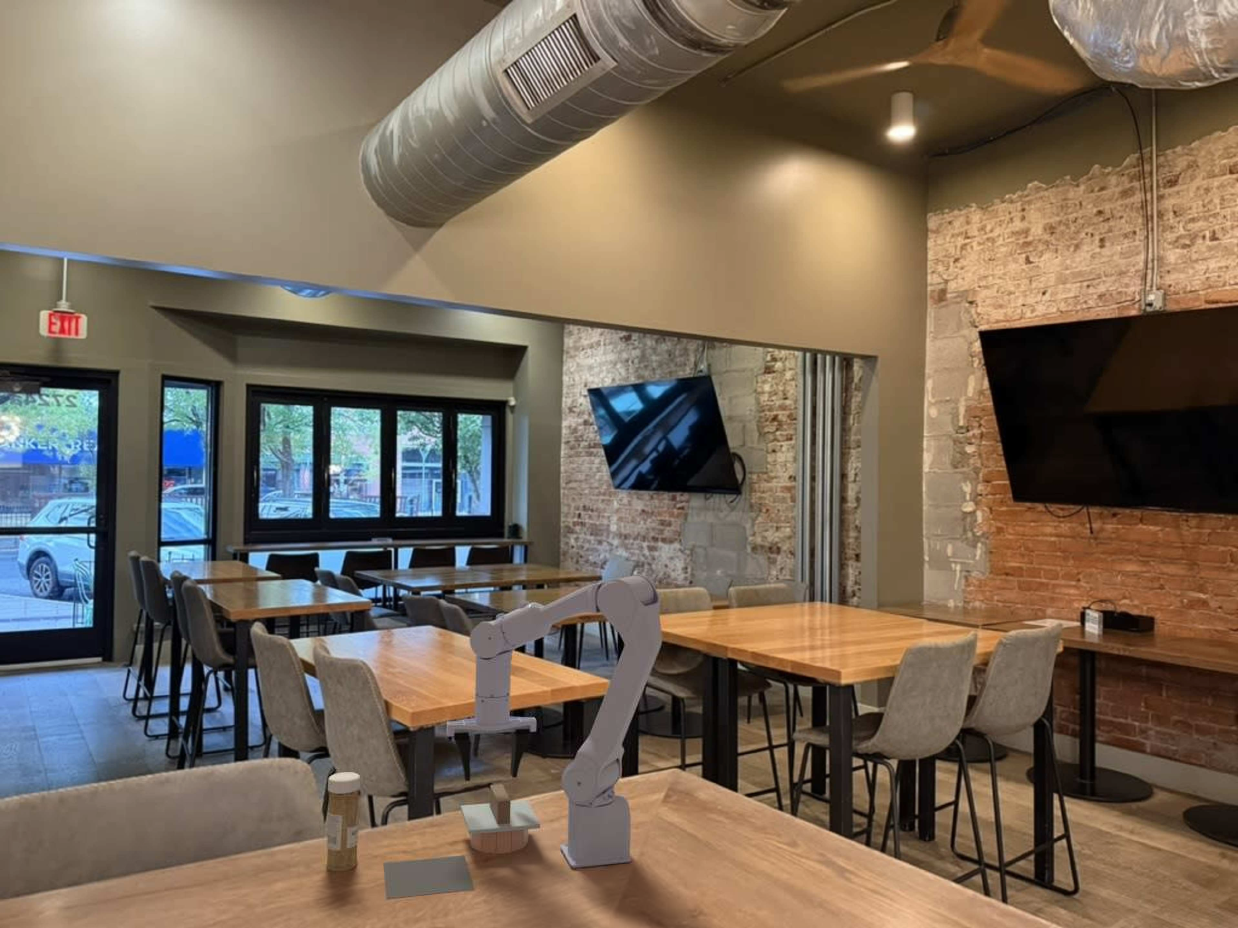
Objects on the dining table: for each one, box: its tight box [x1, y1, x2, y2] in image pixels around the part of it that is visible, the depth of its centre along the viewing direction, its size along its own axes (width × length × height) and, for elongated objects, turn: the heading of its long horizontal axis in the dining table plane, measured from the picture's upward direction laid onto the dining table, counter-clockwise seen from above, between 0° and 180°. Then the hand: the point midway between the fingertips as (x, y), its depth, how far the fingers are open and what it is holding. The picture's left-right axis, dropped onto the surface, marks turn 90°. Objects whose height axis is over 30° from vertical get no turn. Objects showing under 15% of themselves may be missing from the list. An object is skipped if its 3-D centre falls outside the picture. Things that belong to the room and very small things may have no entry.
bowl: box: [469, 829, 529, 855], centre depth 141 cm, size 9×9×4 cm
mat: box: [383, 854, 475, 900], centre depth 128 cm, size 12×12×1 cm
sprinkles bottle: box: [325, 771, 361, 872], centre depth 132 cm, size 5×5×14 cm
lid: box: [460, 783, 541, 836], centre depth 142 cm, size 11×11×4 cm
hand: (490, 777), depth 145 cm, fingers open, 7 cm apart
